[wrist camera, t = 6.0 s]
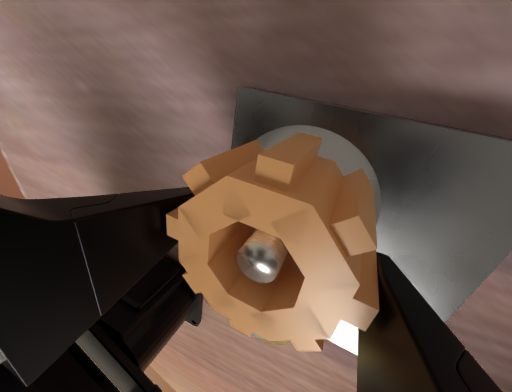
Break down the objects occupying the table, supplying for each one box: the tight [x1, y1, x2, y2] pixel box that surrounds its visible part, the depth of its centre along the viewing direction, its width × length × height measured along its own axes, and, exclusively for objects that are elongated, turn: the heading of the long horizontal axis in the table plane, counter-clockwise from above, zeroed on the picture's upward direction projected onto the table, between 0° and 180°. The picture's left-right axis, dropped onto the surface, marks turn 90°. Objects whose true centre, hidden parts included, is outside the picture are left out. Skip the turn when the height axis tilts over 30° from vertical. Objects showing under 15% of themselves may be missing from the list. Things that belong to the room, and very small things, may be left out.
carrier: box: [231, 87, 512, 355], centre depth 10 cm, size 13×12×6 cm
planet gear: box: [166, 132, 379, 351], centre depth 8 cm, size 7×7×4 cm
